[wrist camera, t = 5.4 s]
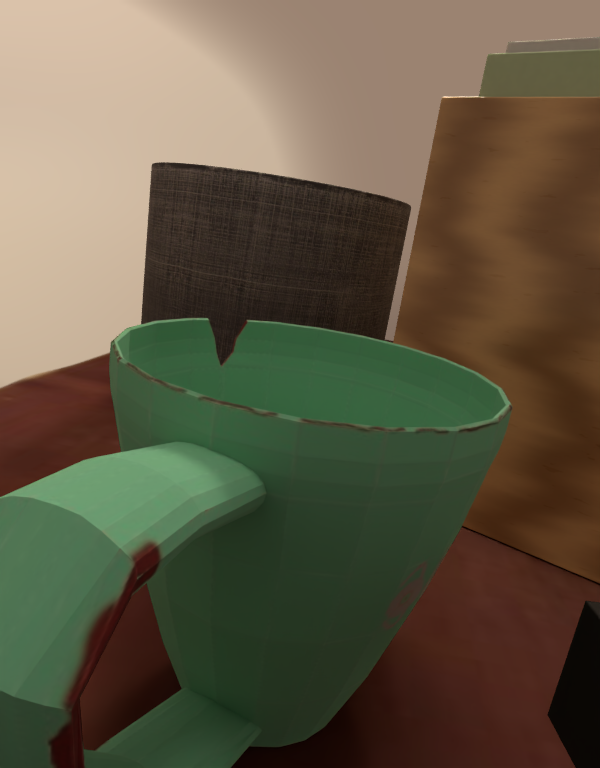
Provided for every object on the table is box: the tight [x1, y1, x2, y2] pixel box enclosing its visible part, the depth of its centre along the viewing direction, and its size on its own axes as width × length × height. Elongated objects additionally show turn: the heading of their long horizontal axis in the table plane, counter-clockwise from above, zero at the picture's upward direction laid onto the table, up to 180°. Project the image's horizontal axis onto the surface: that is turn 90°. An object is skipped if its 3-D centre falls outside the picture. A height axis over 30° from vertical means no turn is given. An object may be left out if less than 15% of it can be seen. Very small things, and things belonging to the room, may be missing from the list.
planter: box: [141, 163, 411, 365], centre depth 41 cm, size 18×18×16 cm
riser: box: [393, 97, 600, 584], centre depth 31 cm, size 16×18×20 cm
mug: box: [0, 318, 513, 768], centre depth 13 cm, size 15×10×10 cm
